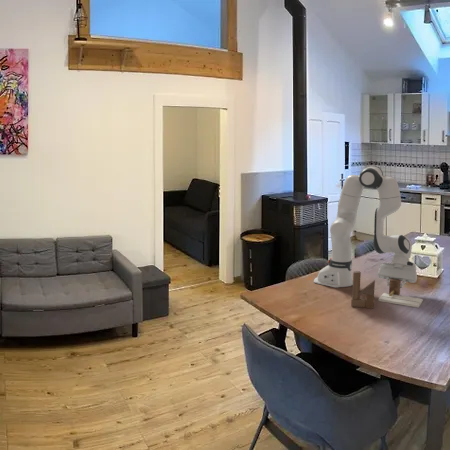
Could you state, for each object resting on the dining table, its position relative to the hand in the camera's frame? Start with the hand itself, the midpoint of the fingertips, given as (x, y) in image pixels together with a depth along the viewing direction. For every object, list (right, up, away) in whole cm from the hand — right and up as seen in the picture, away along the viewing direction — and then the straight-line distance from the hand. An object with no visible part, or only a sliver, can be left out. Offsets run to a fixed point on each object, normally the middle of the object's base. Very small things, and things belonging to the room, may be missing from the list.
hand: (394, 286), depth 277 cm
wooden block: (-21, -9, -15) cm, 28 cm away
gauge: (-2, -5, -2) cm, 6 cm away
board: (0, -7, -8) cm, 10 cm away
